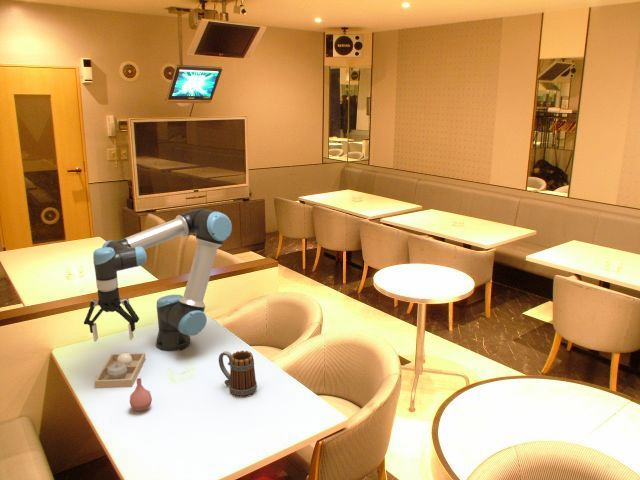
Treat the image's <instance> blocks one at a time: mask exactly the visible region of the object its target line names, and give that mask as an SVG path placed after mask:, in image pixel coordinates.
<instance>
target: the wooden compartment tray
mask: <svg viewBox="0 0 640 480" xmlns="http://www.w3.org/2000/svg"><path fill="white" fill-rule="evenodd" d="M120 354H121V353H113V354H112V353H111V355H109V357H108V359H107V361H106V362H105V364H104V365H103V367H102V369H101V370H100V372H99V373H98V375H97V376H96V379H95V380H94V388H95V389H113V388H133V386H134V384H135V382H136V381H137V379H138V377H139V376H138V375H139V374H140V372H141V370H142V368H143V366H144V363H146V360H147V358H146V352H140V353H137V352H136V353H135V352H134V353H129V354H130V355H131V357H132V363H131V364H130V365H129V366H126V367H127V374H126V377H125V378H124V379H115V380H111V379H110V378H109V376H108V373H107V369H108V367H109V366H110V365H112V364H114V363H117V358H118V356H119V355H120Z"/></svg>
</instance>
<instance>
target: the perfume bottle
mask: <svg viewBox="0 0 640 480" xmlns="http://www.w3.org/2000/svg"><path fill="white" fill-rule="evenodd" d="M152 400H153V397H152V394H151V392H150V391H149V390H148V389H146V388H145V387H144V386H143V385H142V379H141V377H139V378H138V377H137V378H136V387H135V389H134V390H133V392H131V394H130V396H129V405H130V406H131V409H133V410H134V411H138V412H140V411H144V410H147V409H149V408H150V407H151V405H152Z"/></svg>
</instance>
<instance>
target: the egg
mask: <svg viewBox="0 0 640 480" xmlns="http://www.w3.org/2000/svg"><path fill="white" fill-rule="evenodd" d="M119 354H120V355H119V356H118V358H117V363H119V362H120V363H124V364H125V365H126V366H129V365H130V364H131V363H132V357H131V355H130V354H131V353H128V352H121V353H119Z"/></svg>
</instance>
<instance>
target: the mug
mask: <svg viewBox="0 0 640 480" xmlns="http://www.w3.org/2000/svg"><path fill="white" fill-rule="evenodd" d="M224 356H226V357H227V358H228V360H229V361H228V363H227V365H228V366H229V367H230V370H229V371H230V372H229V371H228V370H227V368H226V367H225V364H224ZM218 365H219V368H220V370H221V372H222V374H223V376H225V378H226V380H223V381H224V385H226V386H228V387H229V392H230V394H231V395H232V396H234V397H237V398H247V397H250V396H252V395H253V394H255V393H256V391H257V388H258V385H257V379H256V372H255V371H256V370H255V359H254V356H253V353H252V352H250V351H248V350H240V351H236V352H233V353H231V352H230V351H228V350H227V351H223V352H221V353H220V354H219V356H218Z"/></svg>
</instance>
